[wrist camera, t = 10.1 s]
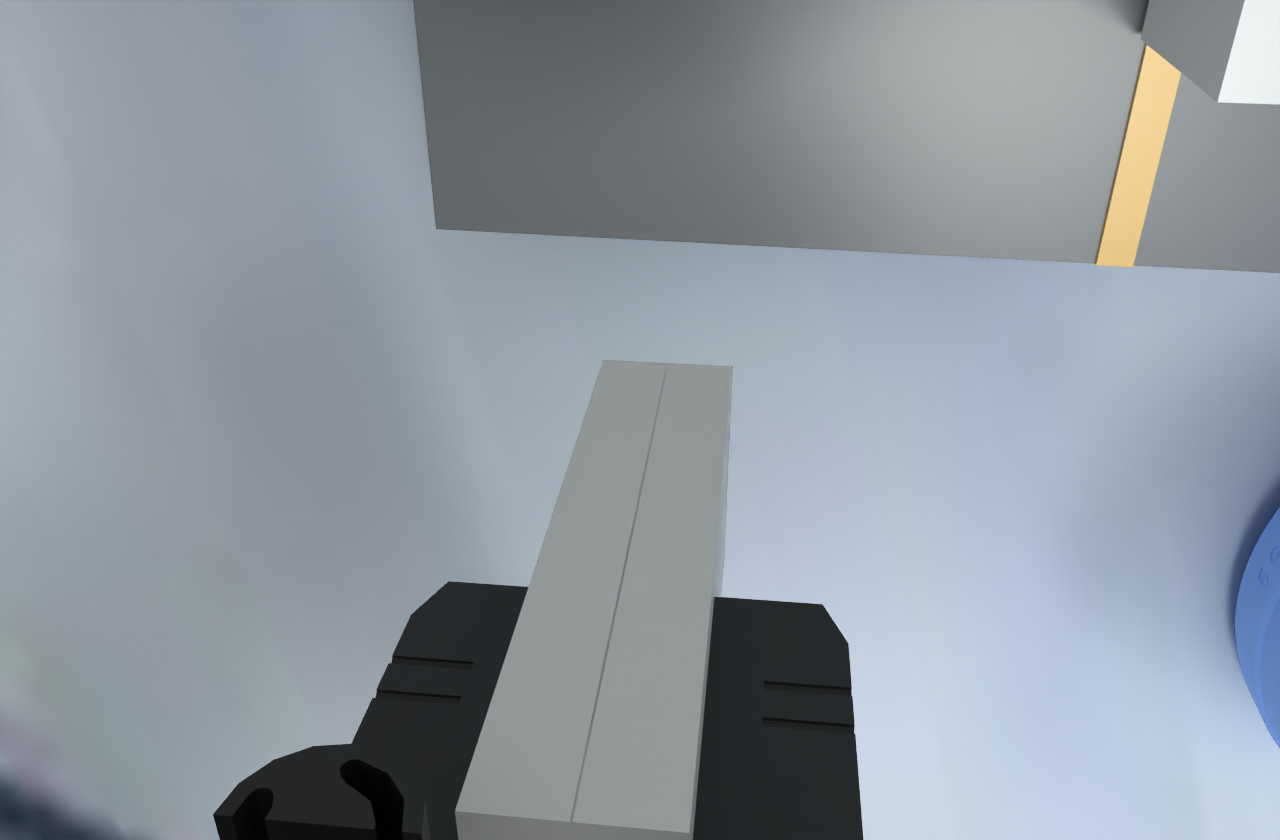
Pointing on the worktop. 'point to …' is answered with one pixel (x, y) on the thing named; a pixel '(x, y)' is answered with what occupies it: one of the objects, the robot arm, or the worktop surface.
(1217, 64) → the fader
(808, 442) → the worktop surface
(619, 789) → the robot arm
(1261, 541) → the water jug
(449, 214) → the console
